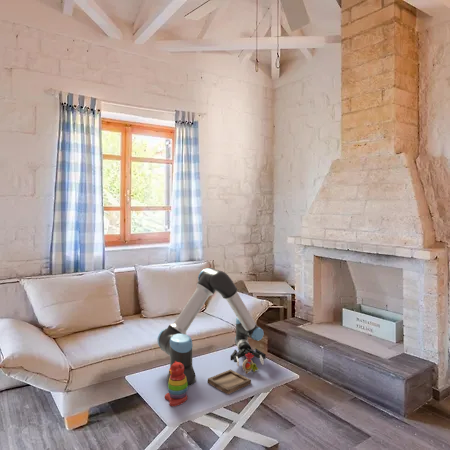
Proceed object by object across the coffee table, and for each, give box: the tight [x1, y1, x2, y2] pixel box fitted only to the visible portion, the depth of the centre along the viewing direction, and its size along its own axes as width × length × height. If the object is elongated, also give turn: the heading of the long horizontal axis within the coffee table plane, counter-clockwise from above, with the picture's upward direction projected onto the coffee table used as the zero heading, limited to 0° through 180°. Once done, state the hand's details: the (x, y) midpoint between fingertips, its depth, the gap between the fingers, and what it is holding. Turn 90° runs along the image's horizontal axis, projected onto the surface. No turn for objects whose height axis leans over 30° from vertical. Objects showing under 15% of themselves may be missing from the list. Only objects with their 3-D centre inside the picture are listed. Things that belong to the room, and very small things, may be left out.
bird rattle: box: [241, 353, 259, 375], centre depth 201 cm, size 6×11×9 cm
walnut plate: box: [207, 369, 252, 395], centre depth 189 cm, size 16×16×2 cm
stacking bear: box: [164, 361, 189, 407], centre depth 173 cm, size 11×10×18 cm
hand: (250, 363), depth 198 cm, fingers open, 13 cm apart
